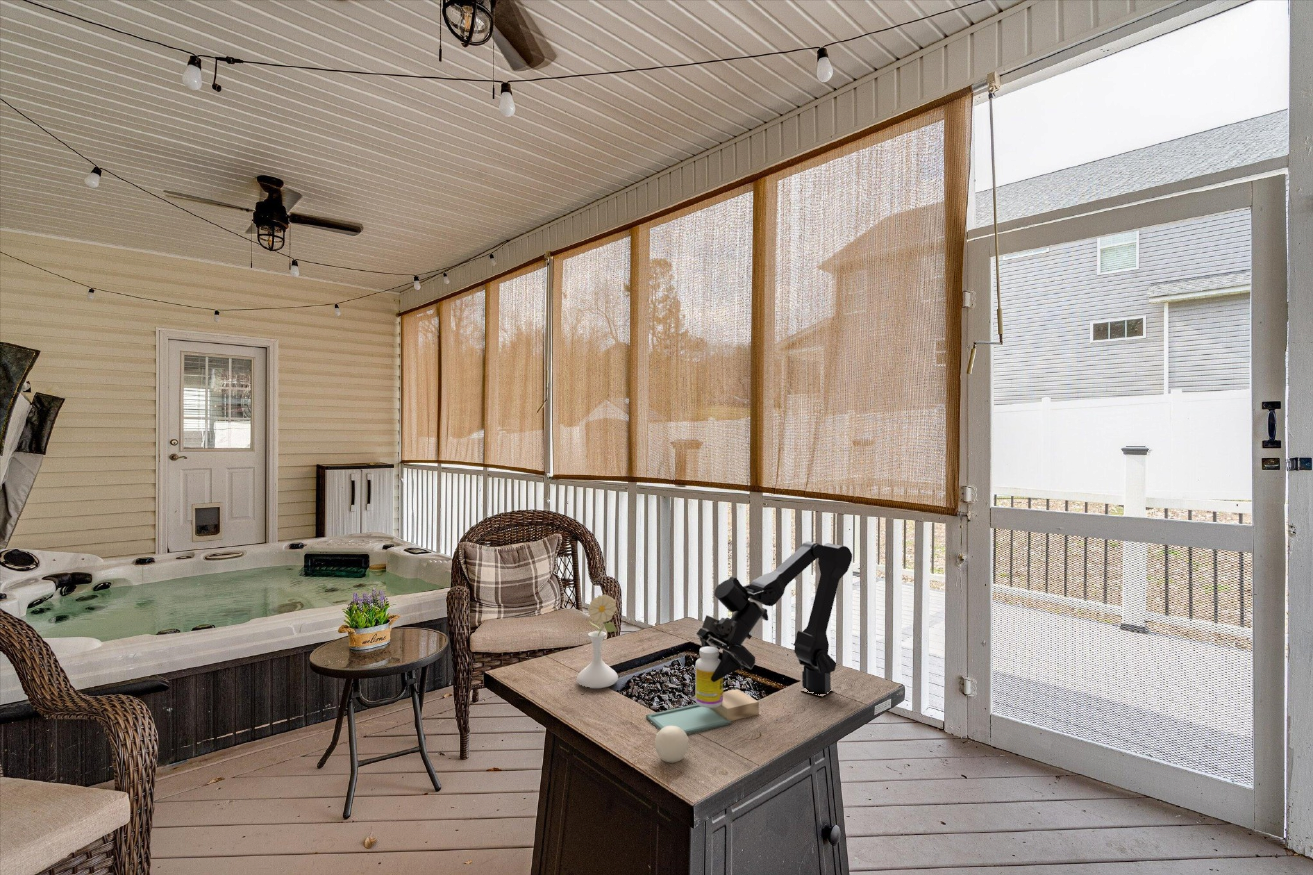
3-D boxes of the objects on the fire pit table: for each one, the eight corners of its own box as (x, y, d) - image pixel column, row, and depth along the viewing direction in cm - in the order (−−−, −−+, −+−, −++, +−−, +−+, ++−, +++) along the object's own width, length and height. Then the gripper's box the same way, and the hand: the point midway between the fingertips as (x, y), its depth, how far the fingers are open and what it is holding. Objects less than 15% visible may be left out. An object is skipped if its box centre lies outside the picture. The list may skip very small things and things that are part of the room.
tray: (703, 705, 154) (703, 702, 154) (730, 724, 143) (730, 720, 143) (646, 718, 147) (646, 714, 147) (669, 738, 136) (669, 735, 136)
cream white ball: (696, 759, 127) (696, 726, 127) (672, 772, 122) (671, 737, 122) (673, 748, 132) (672, 716, 132) (648, 760, 127) (648, 727, 127)
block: (737, 700, 157) (737, 688, 157) (758, 714, 149) (758, 701, 149) (707, 707, 153) (707, 695, 153) (727, 721, 144) (727, 708, 145)
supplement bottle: (723, 709, 144) (723, 654, 144) (695, 708, 145) (695, 654, 145) (722, 697, 151) (722, 645, 151) (695, 696, 151) (695, 644, 151)
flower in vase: (567, 685, 168) (567, 593, 168) (597, 673, 176) (597, 586, 177) (601, 697, 159) (600, 600, 160) (631, 684, 168) (630, 592, 169)
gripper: (702, 595, 158) (664, 645, 153) (743, 611, 142) (703, 668, 136) (728, 621, 162) (692, 671, 156) (772, 640, 145) (734, 697, 140)
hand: (704, 676), depth 147 cm, fingers closed on supplement bottle, 7 cm apart
